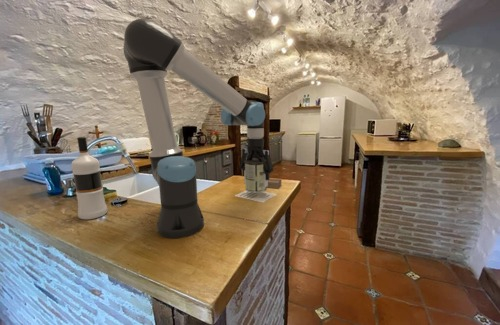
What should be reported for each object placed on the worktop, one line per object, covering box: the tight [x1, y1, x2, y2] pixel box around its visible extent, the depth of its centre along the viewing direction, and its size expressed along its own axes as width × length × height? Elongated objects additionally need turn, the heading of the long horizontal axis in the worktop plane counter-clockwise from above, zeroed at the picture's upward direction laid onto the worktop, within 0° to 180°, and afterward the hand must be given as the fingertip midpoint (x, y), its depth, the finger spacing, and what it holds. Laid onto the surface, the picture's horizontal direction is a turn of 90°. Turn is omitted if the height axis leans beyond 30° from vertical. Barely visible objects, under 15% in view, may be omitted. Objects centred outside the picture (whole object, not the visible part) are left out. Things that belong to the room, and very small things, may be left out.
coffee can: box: [245, 158, 268, 193], centre depth 102 cm, size 10×10×14 cm
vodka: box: [70, 136, 109, 221], centre depth 81 cm, size 9×9×30 cm
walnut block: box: [267, 177, 282, 190], centre depth 118 cm, size 8×8×4 cm
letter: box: [234, 190, 278, 203], centre depth 104 cm, size 13×16×1 cm
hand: (255, 184), depth 103 cm, fingers closed on coffee can, 10 cm apart
